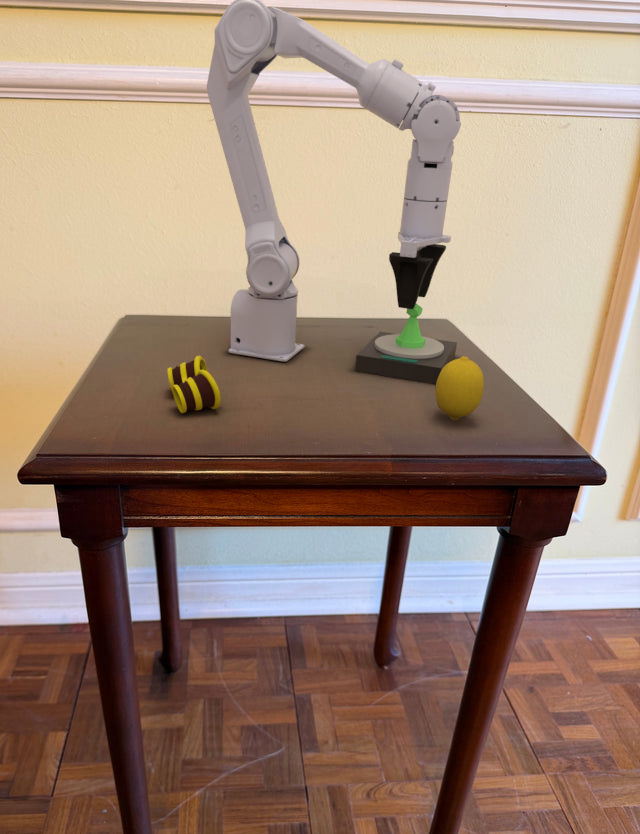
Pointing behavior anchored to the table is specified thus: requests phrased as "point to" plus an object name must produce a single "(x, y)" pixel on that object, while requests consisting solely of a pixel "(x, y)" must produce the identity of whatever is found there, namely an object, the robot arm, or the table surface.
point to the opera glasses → (193, 386)
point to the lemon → (459, 388)
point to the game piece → (411, 330)
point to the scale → (405, 358)
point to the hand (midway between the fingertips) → (412, 301)
